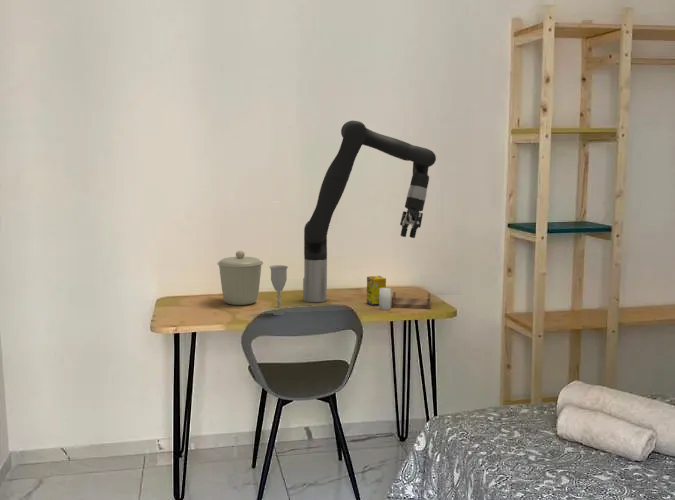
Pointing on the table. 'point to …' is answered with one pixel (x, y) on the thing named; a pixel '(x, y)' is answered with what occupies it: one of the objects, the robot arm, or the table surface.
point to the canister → (240, 279)
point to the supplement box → (374, 289)
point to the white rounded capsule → (385, 298)
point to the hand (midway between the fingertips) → (407, 237)
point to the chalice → (278, 279)
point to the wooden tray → (410, 302)
